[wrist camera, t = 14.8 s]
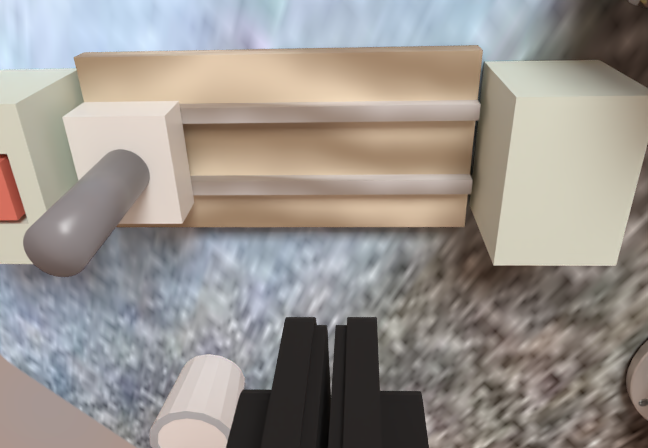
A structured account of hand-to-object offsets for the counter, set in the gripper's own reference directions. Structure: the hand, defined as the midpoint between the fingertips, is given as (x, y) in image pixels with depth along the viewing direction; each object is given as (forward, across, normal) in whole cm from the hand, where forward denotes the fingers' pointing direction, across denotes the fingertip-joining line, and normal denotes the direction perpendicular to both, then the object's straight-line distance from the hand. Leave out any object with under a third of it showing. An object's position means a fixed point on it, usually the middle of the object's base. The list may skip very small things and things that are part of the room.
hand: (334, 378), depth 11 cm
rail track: (+28, +5, +5) cm, 29 cm away
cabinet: (+29, -12, +6) cm, 31 cm away
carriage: (+26, +14, +5) cm, 30 cm away
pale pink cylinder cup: (+29, +13, +27) cm, 42 cm away
